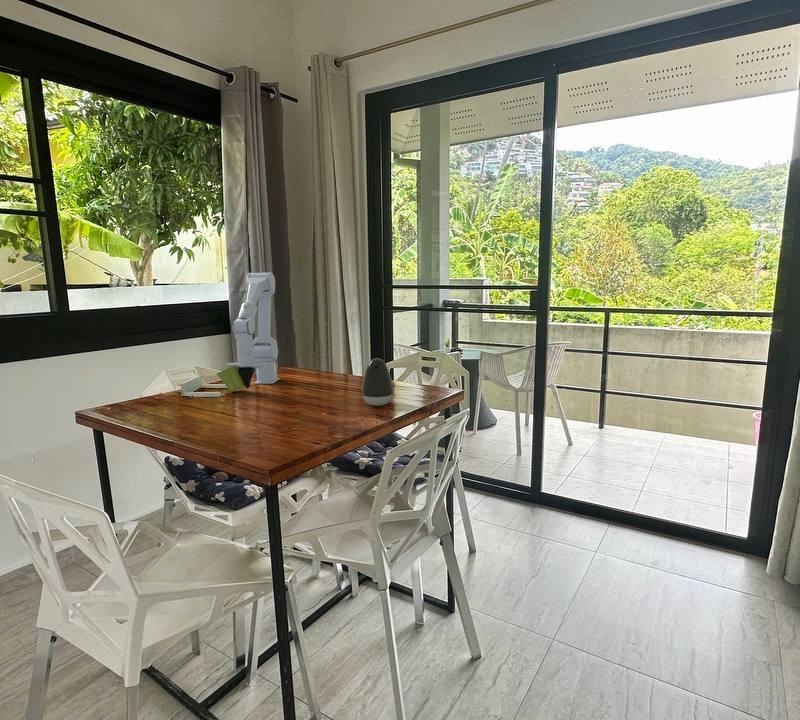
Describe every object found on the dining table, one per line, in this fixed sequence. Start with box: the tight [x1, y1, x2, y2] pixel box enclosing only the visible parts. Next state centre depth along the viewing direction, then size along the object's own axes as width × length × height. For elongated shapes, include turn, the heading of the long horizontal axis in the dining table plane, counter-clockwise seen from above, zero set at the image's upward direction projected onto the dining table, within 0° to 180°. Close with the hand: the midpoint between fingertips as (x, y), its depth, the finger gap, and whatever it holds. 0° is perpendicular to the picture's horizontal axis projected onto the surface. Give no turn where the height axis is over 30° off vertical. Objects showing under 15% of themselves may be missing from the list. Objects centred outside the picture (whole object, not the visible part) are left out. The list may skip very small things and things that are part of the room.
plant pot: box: [215, 365, 245, 393], centre depth 189 cm, size 9×9×9 cm
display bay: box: [180, 375, 228, 398], centre depth 190 cm, size 15×14×5 cm
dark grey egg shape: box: [361, 357, 394, 407], centre depth 166 cm, size 10×10×15 cm
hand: (247, 387), depth 189 cm, fingers closed
